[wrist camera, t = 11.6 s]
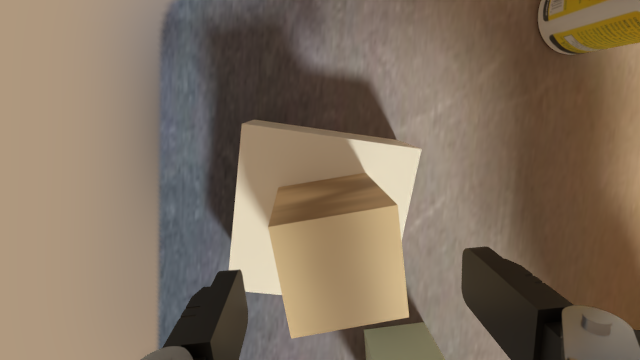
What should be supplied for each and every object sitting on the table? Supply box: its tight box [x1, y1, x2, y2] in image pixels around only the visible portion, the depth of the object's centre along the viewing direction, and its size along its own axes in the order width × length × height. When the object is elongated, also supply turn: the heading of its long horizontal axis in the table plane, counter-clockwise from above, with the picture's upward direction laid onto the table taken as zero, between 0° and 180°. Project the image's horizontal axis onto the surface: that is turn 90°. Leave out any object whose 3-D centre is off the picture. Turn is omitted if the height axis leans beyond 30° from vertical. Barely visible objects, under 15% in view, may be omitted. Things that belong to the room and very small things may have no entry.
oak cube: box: [268, 173, 409, 338], centre depth 16 cm, size 5×5×6 cm
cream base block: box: [229, 120, 421, 295], centre depth 21 cm, size 10×10×5 cm
